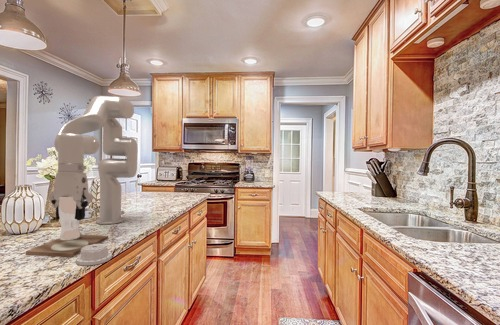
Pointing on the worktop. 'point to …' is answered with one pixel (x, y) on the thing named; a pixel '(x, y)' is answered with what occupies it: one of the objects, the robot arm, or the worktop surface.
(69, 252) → the carrier plate
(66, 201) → the beer glass
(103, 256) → the mechanical component
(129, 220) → the worktop surface
